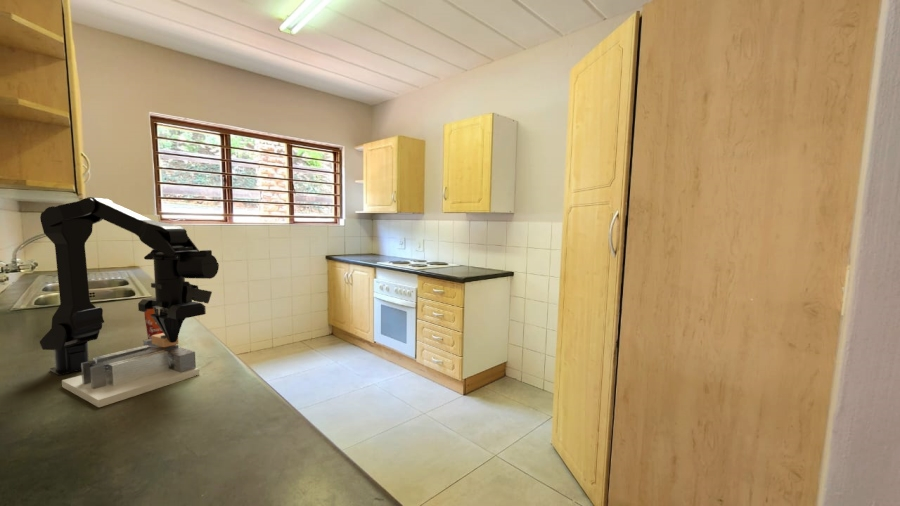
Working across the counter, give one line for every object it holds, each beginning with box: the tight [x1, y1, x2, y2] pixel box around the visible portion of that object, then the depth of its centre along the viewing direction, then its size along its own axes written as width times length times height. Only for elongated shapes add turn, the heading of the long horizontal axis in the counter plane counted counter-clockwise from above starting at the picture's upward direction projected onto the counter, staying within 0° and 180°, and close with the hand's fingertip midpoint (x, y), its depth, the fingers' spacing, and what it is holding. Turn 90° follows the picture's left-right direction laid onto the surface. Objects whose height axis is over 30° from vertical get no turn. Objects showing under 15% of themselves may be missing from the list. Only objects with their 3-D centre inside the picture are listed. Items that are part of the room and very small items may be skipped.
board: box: [61, 367, 200, 408], centre depth 82 cm, size 19×18×2 cm
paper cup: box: [143, 309, 163, 339], centre depth 103 cm, size 8×8×14 cm
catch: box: [152, 333, 179, 347], centre depth 89 cm, size 6×3×3 cm, turn 62°
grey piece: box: [80, 338, 197, 389], centre depth 83 cm, size 18×16×5 cm
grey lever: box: [92, 344, 180, 369], centre depth 83 cm, size 3×15×1 cm, turn 152°
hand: (173, 342), depth 87 cm, fingers closed
